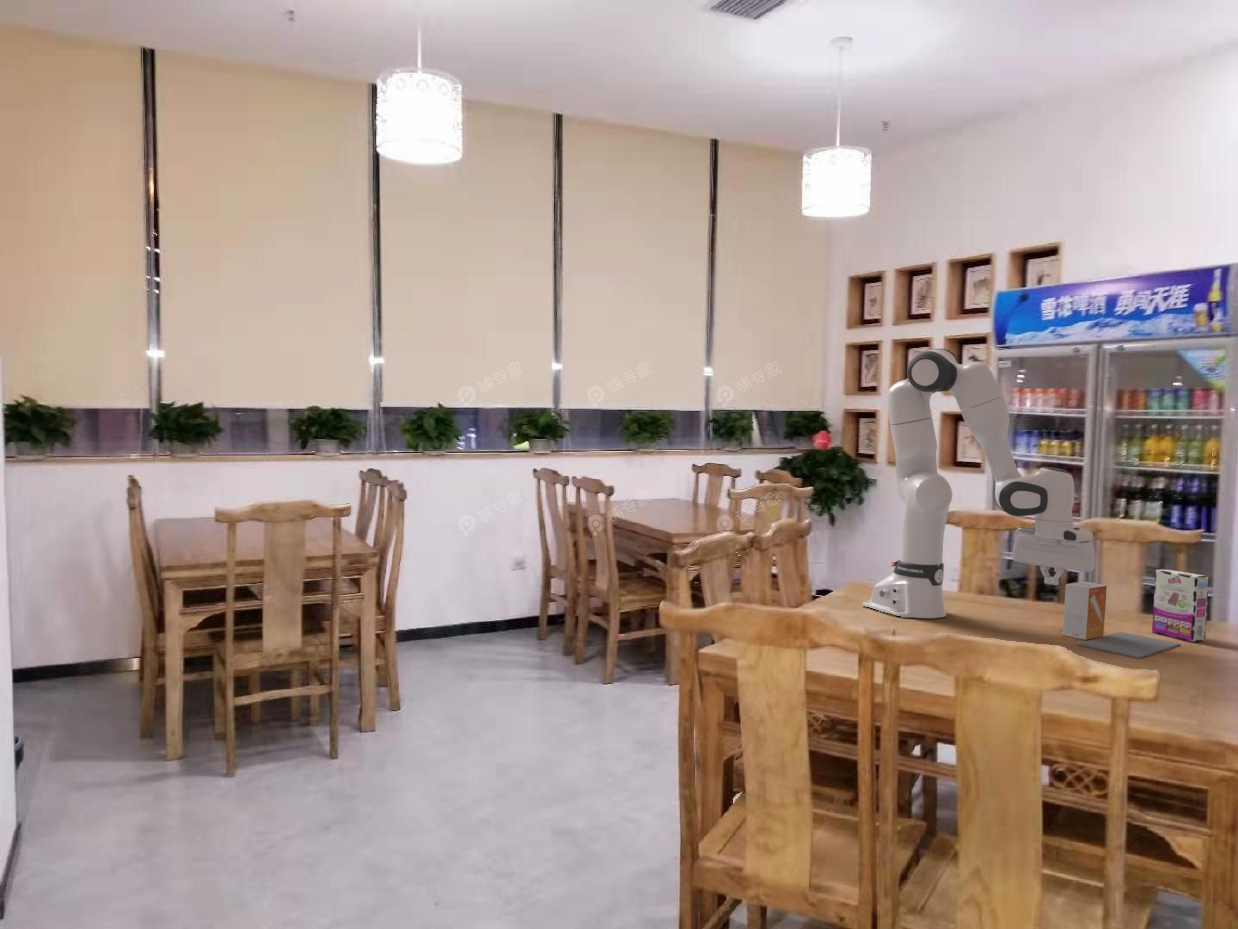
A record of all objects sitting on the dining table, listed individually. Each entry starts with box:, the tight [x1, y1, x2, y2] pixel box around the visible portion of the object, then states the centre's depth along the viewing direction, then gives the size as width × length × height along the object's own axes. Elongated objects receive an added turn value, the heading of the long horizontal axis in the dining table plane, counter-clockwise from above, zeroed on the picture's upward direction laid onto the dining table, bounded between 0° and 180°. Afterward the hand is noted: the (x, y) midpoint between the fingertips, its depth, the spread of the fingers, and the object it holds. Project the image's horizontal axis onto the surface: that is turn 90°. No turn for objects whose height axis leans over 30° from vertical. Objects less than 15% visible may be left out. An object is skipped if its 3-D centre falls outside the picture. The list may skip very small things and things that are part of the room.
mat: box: [1077, 631, 1181, 660], centre depth 224 cm, size 14×22×1 cm, turn 127°
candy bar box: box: [1151, 568, 1210, 643], centre depth 233 cm, size 11×5×16 cm, turn 23°
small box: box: [1062, 581, 1108, 641], centre depth 232 cm, size 8×6×13 cm
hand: (1051, 584), depth 239 cm, fingers closed
